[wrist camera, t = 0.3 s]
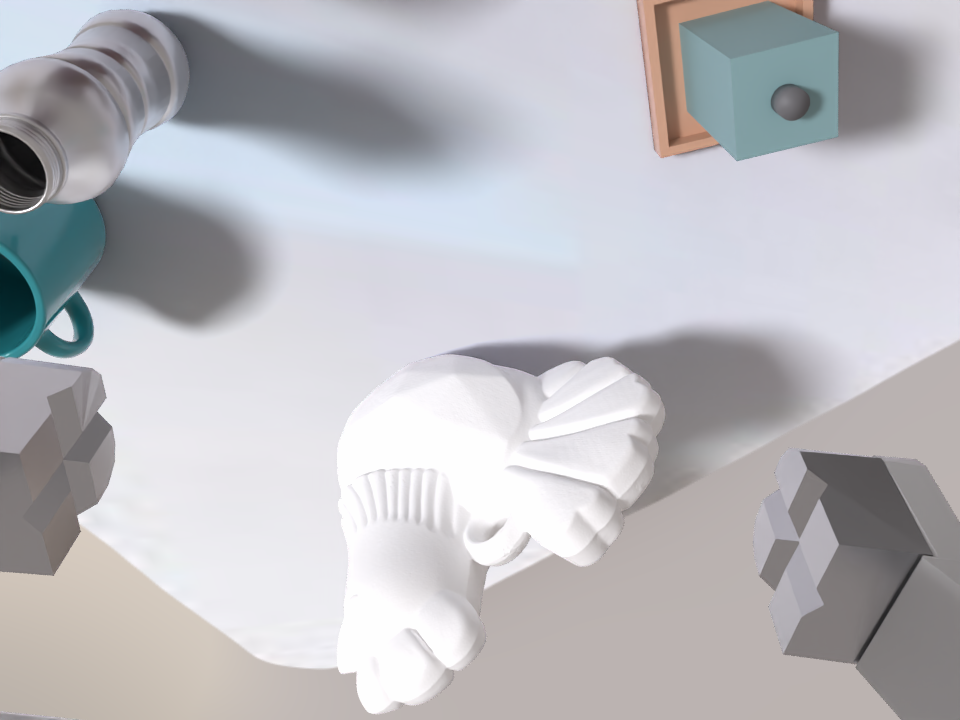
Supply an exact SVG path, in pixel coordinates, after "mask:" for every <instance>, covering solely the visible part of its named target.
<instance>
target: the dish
mask: <svg viewBox="0 0 960 720" xmlns="http://www.w3.org/2000/svg"><path fill="white" fill-rule="evenodd" d="M764 1H770V2H772V3H775V4H777V5H779V6H781V7H783V8H786V9H788V10H790V11H792V12H795V13H797V14H799V15H801V16H803V17H806V18H808V19H810V20H812V21H813V0H637V8H638V16H639V24H640V33H641V41H642V50H643V58H644V67H645V75H646V83H647V92H648V100H649V109H650V117H651V126H652V134H653V142H654V150H655V151H656V152H657V154H658V155H659V156H660V158H664V157H668V156H672V155H676V154H680V153H685V152H689V151H693V150H697V149H701V148H705V147H709V146H713V145H718V144H719V143H718V142H717V141H716V140H715V139H714V138H713V137H712V136H711V135H710V134H709V133H708V132H707V131H706V130H705V129H704V128H703V127H702V126H701V125H700V124H699V123H698V122H697V121H696V120H695V119H694V118H693V117H692V116H691V115H690V114H689V113H688V112H687V107H686V96H685V86H684V75H683V64H682V54H681V43H680V33H679V23H682V22H686V21H690V20H693V19H697V18H701V17H705V16H709V15H713V14H717V13H721V12H725V11H729V10H733V9H737V8H741V7H745V6H749V5H753V4H757V3H761V2H764Z"/></svg>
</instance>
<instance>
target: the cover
mask: <svg viewBox="0 0 960 720" xmlns="http://www.w3.org/2000/svg"><path fill="white" fill-rule="evenodd" d="M679 33H680V43H681V54H682V64H683V75H684V86H685V96H686V107H687V112H688V113H689V114H690V115H691V116H692V117H693V118H694V119H695V120H696V121H697V122H698V123H699V124H700V125H701V126H702V127H703V128H704V129H705V130H706V131H707V132H708V133H709V134H710V135H711V136H712V137H713V138H714V139H715V140H716V141H717V142H718V143H719V144H720V145H721V146H722V147H723V148H724V149H725V150H726V151H727V152H728V153H729V154H730V155H731V156H732V157H733V158H734V159H735V160H736V161H740V160H744V159H748V158H752V157H757V156H761V155H765V154H769V153H773V152H777V151H782V150H786V149H790V148H794V147H798V146H802V145H806V144H811V143H815V142H819V141H823V140H827V139H831V138H836V137H838V51H839V32H837V31H835V30H832V29H830V28H828V27H826V26H823V25H821V24H819V23H817V22H815V21H812V20H810V19H808V18H806V17H803V16H801V15H799V14H797V13H795V12H792V11H790V10H788V9H786V8H783V7H781V6H779V5H777V4H775V3H772V2H770V1H764V2H761V3H757V4H753V5H749V6H745V7H741V8H737V9H733V10H729V11H725V12H721V13H717V14H713V15H709V16H705V17H701V18H697V19H693V20H690V21H686V22H682V23H679Z"/></svg>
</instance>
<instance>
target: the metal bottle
mask: <svg viewBox="0 0 960 720" xmlns="http://www.w3.org/2000/svg"><path fill="white" fill-rule="evenodd" d="M189 79H190V73H189V64H188V60H187V56H186V54H185V51H184V49H183V46H182V45H181V43H180V42H179V40H178V38H177V37H176V36H175V34H174V33H173V32H172V31H171V30H170V29H169V28H168V27H167V26H166V25H165V24H163V23H162V22H161V21H160V20H158V19H156V18H155V17H153V16H151V15H149V14H146V13H143V12H141V11H136V10H129V9H120V10H109V11H105V12H102V13H99V14H97V15H95V16H94V17H92V18H90V19H89V20H88V21H87V22H86V23H85V24H84V25H83V26H82V27H81V29H80V30H79V31H78V32H77V34H76V36H75V37H74V39H73V41H72V42H71V44H70V45H69V46H68V47H67V48H66V49H64V50H62V51H59V52H57V53H55V54H53V55H48V56H42V57H37V58H31V59H27V60H24V61H21V62H18V63H15V64H12V65H10V66H8V67H6V68H5V69H3V70H1V71H0V212H3V213H8V214H24V213H28V212H31V211H34V210H35V209H37V208H39V207H41V206H42V205H43V204H44V203H52V204H60V205H61V204H74V203H78V202H82V201H86V200H89V199H93V198H95V197H97V196H99V195H100V194H102V193H104V192H105V191H106V190H107V189H108V188H110V187H111V186H112V185H113V183H114V182H115V180H116V179H117V177H118V176H119V174H120V173H121V171H122V170H123V168H124V166H125V163H126V161H127V158H128V156H129V153H130V151H131V149H132V146H133V145H134V143H135V142H136V140H137V139H138V138H139V136H140V135H142V134H143V133H145V132H146V131H148V130H151V129H154V128H156V127H158V126H160V125H162V124H163V123H165V122H167V121H169V120H170V119H171V118H172V117H174V116H175V115H176V114H177V113H178V111H179V110H180V108H181V107H182V105H183V103H184V100H185V98H186V95H187V91H188V86H189Z"/></svg>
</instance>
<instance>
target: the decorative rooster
mask: <svg viewBox="0 0 960 720" xmlns="http://www.w3.org/2000/svg"><path fill="white" fill-rule="evenodd" d="M665 415H666V413H665V407H664V405H663V403H662V400H661V397H660V395H659V394H658V393H657V392H655V391H654V390H653V389H652V388H651V385H650V384H649V382H648V381H646V380H645V379H644V378H642V377H641V376H640V375H639V374H637V373H634V372H632V371H631V370H630V369H628V368H627V367H626V366H624V365H622V364H621V363H620V362H619V361H617V360H616V359H614V358H612V357H602V358H598V359H595V360H592V361H590V362H589V363H588V364H585V363H583V362H581V361H569V362H566V363H563V364H561V365H558V366H556V367H554V368H552V369H550V370H548V371H546V372H544V373H543V374H541V375H539V376H537V377H536V376H534V375H531V374H529V373H527V372H524V371H521V370H518V369H514V368H510V367H504V366H498V365H493V364H491V363H489V362H487V361H485V360H482V359H478V358H474V357H469V356H463V355H453V354H446V355H439V356H434V357H430V358H426V359H423V360H419V361H416V362H412V363H409V364H407V365H405V366H404V367H402V368H401V369H400V370H398V371H397V372H396V373H394V374H393V375H392V376H390V377H389V378H388V379H387V380H385V381H384V382H383V383H381V384H380V385H379V386H378V387H376V388H375V389H374V390H373V391H372V392H371V393H370V394H369V395H368V396H367V397H366V398H365V399H364V400H363V401H362V402H361V403H360V404H359V405H358V406H357V407H356V408H355V409H354V411H353V412H352V413H351V415H350V417H349V419H348V421H347V423H346V425H345V428H344V430H343V433H342V435H341V438H340V440H339V443H338V451H337V469H338V480H339V484H340V488H341V499H340V500H339V502H338V509H339V511H340V513H341V515H342V517H343V518H342V520H341V525H342V528H343V531H344V534H345V537H346V542H347V546H348V554H349V564H348V574H347V582H346V590H345V599H344V615H345V618H344V620H343V623H342V626H341V629H340V634H339V639H338V646H337V664H338V669H339V671H340V673H342V674H348V673H353V672H357V692H358V696H359V699H360V701H361V703H362V704H363V706H364V707H365V709H366V711H368V712H369V713H373V714H382V713H386V712H391V711H394V710H397V709H399V708H401V707H402V706H403V705H404V704H407V705H420V704H422V703H425V702H427V701H429V700H431V699H432V698H434V697H436V696H437V695H438V694H440V693H441V692H442V691H443V690H444V689H445V688H446V687H447V686H449V685H450V684H451V682H452V681H453V678H454V671H453V670H458V671H460V670H463V669H464V668H466V667H467V666H468V665H469V664H470V663H471V662H472V661H473V660H474V659H475V658H476V657H477V655H478V654H479V653H480V652H481V650H482V648H483V647H484V644H485V642H486V630H485V627H484V624H483V622H482V621H481V619H480V612H481V603H482V596H483V589H484V584H485V579H486V574H487V571H488V569H489V567H490V566H501V565H504V564H507V563H509V562H510V561H512V560H513V559H515V558H516V557H517V556H518V555H519V554H520V553H521V552H522V550H523V549H524V548H525V547H526V545H527V544H528V542H529V539H530V537H531V536H532V537H533V538H534V539H535V540H536V541H537V542H538V543H539V544H541V545H542V546H543V547H545V548H546V549H548V550H550V551H552V552H554V553H555V554H557V555H559V556H560V557H562V558H564V559H565V560H567V561H569V562H571V563H573V564H575V565H577V566H582V567H584V566H589V565H592V564H594V563H595V562H597V561H598V560H599V559H600V558H601V557H602V556H603V555H604V554H605V552H606V551H607V549H608V548H609V547H610V545H611V544H612V543H613V542H614V541H615V540H616V539H617V538H618V536H619V535H620V533H621V531H622V529H623V526H624V517H623V514H622V511H624V510H627V509H629V508H630V507H631V506H632V505H633V504H634V503H635V502H636V501H637V499H638V498H639V497H640V496H641V495H642V493H643V492H644V491H645V489H646V488H647V486H648V485H649V483H650V482H651V480H652V478H653V475H654V462H655V460H656V458H657V456H658V452H659V445H658V442H657V439H656V437H657V435H658V434H659V432H660V431H661V429H662V427H663V424H664V421H665Z"/></svg>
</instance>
